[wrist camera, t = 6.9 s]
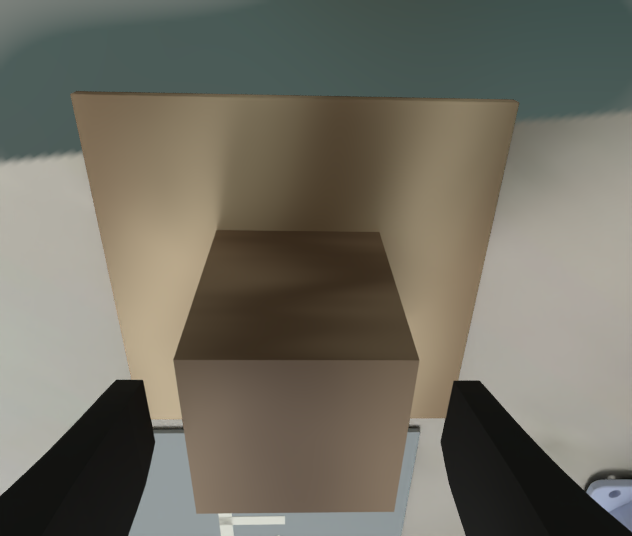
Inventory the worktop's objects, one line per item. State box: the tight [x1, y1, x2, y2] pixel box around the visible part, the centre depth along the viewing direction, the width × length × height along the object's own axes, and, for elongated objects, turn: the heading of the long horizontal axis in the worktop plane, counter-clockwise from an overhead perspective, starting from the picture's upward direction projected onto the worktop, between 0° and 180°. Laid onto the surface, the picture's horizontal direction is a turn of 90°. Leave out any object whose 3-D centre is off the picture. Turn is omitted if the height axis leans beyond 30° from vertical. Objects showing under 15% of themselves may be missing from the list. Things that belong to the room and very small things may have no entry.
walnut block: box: [173, 230, 420, 514], centre depth 14 cm, size 5×5×6 cm
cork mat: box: [71, 91, 519, 419], centre depth 17 cm, size 12×12×1 cm
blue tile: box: [128, 428, 420, 536], centre depth 24 cm, size 14×14×1 cm
